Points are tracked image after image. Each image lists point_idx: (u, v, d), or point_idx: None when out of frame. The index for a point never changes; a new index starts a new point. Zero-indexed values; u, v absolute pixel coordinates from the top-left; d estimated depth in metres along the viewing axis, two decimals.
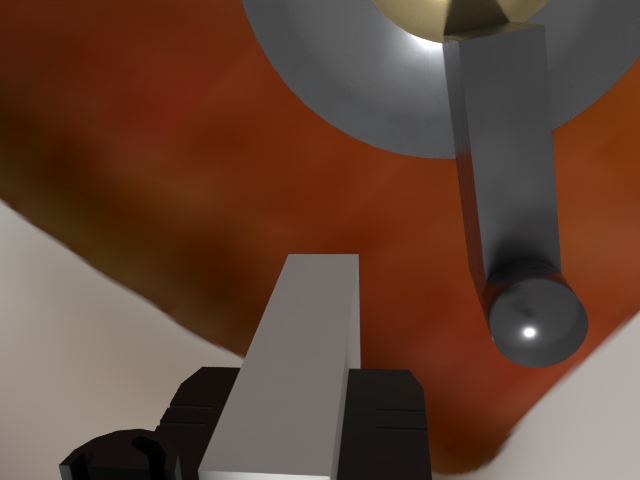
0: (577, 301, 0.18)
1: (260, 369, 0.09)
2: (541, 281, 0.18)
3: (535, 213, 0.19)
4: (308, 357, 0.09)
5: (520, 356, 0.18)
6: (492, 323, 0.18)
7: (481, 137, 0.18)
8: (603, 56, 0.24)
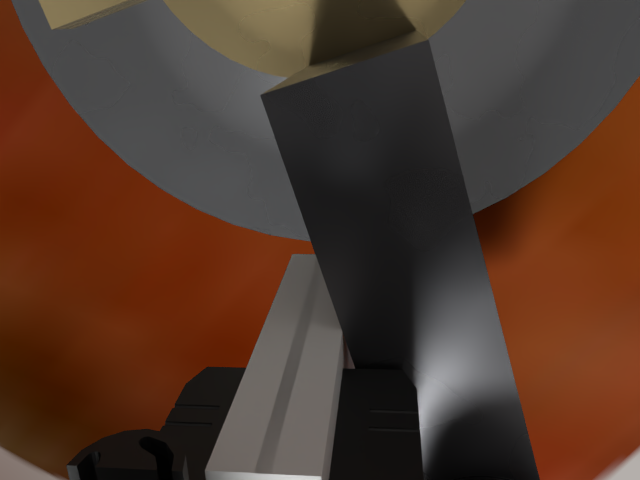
0: None
1: (265, 369, 0.08)
2: None
3: (476, 397, 0.10)
4: (301, 357, 0.09)
5: None
6: None
7: (344, 271, 0.09)
8: (570, 91, 0.15)
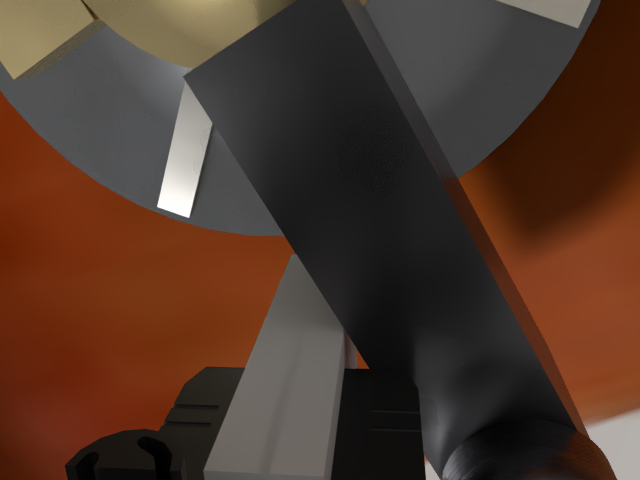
0: None
1: (264, 369, 0.08)
2: None
3: (478, 339, 0.09)
4: (303, 357, 0.09)
5: None
6: None
7: (310, 236, 0.09)
8: None
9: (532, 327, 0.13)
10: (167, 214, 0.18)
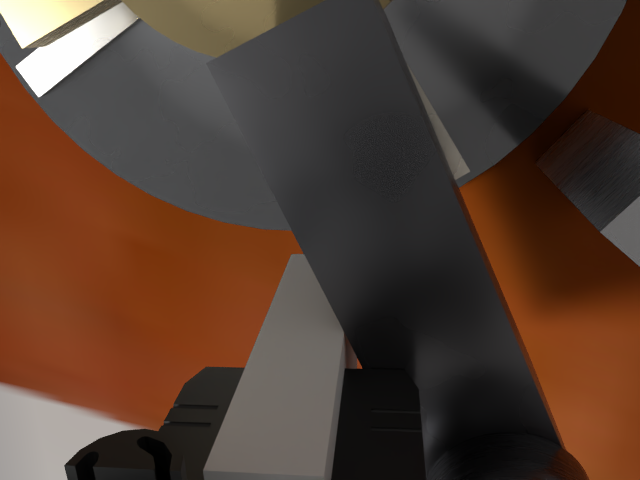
0: None
1: (264, 369, 0.08)
2: None
3: (475, 350, 0.09)
4: (303, 357, 0.09)
5: None
6: None
7: (318, 234, 0.09)
8: (220, 182, 0.17)
9: (521, 341, 0.13)
10: (21, 79, 0.17)
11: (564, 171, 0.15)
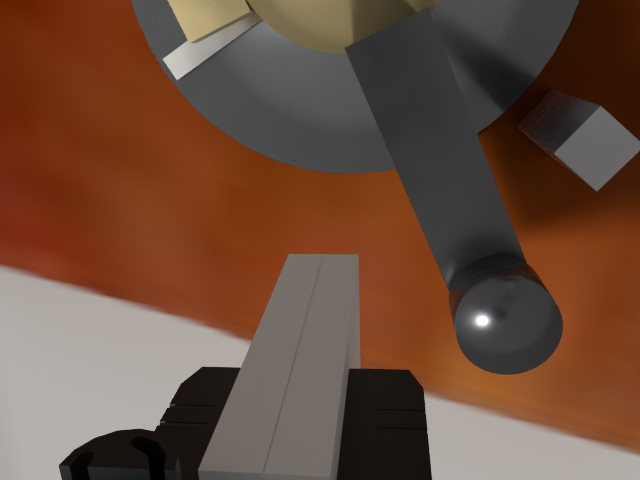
0: (541, 292, 0.16)
1: (260, 369, 0.08)
2: (497, 279, 0.16)
3: (479, 205, 0.17)
4: (308, 357, 0.09)
5: (498, 365, 0.16)
6: (456, 335, 0.16)
7: (397, 140, 0.17)
8: (300, 139, 0.25)
9: None
10: (164, 68, 0.25)
11: (534, 127, 0.23)
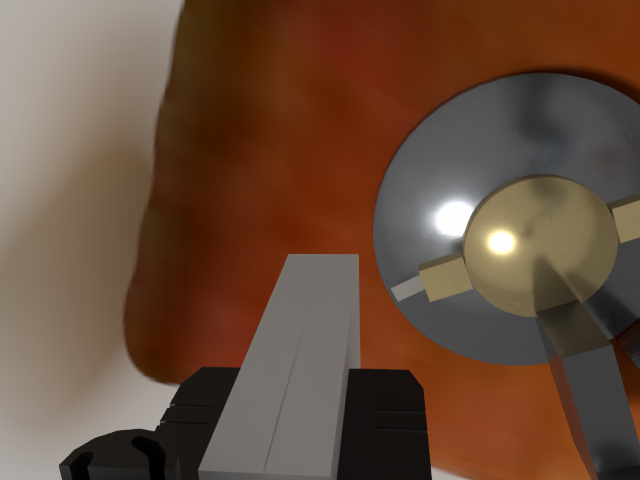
0: None
1: (260, 369, 0.09)
2: None
3: (624, 441, 0.30)
4: (308, 357, 0.09)
5: None
6: None
7: (583, 405, 0.29)
8: (474, 342, 0.38)
9: None
10: (389, 292, 0.37)
11: (635, 353, 0.36)
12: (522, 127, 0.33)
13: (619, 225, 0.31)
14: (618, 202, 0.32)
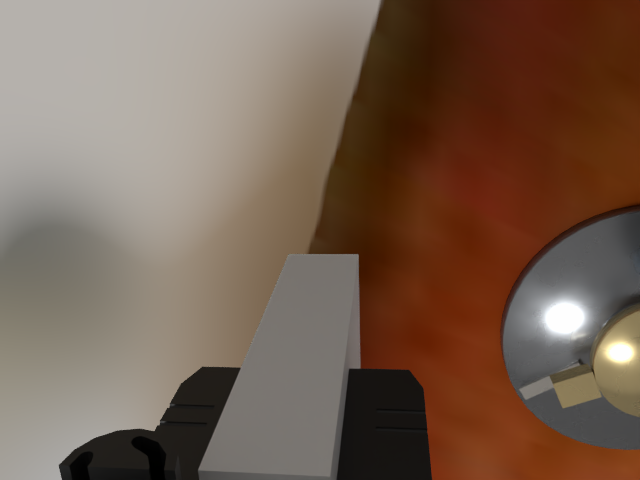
0: None
1: (260, 369, 0.08)
2: None
3: None
4: (308, 357, 0.09)
5: None
6: None
7: None
8: (594, 431, 0.42)
9: None
10: (517, 392, 0.42)
11: None
12: (639, 254, 0.38)
13: None
14: None
